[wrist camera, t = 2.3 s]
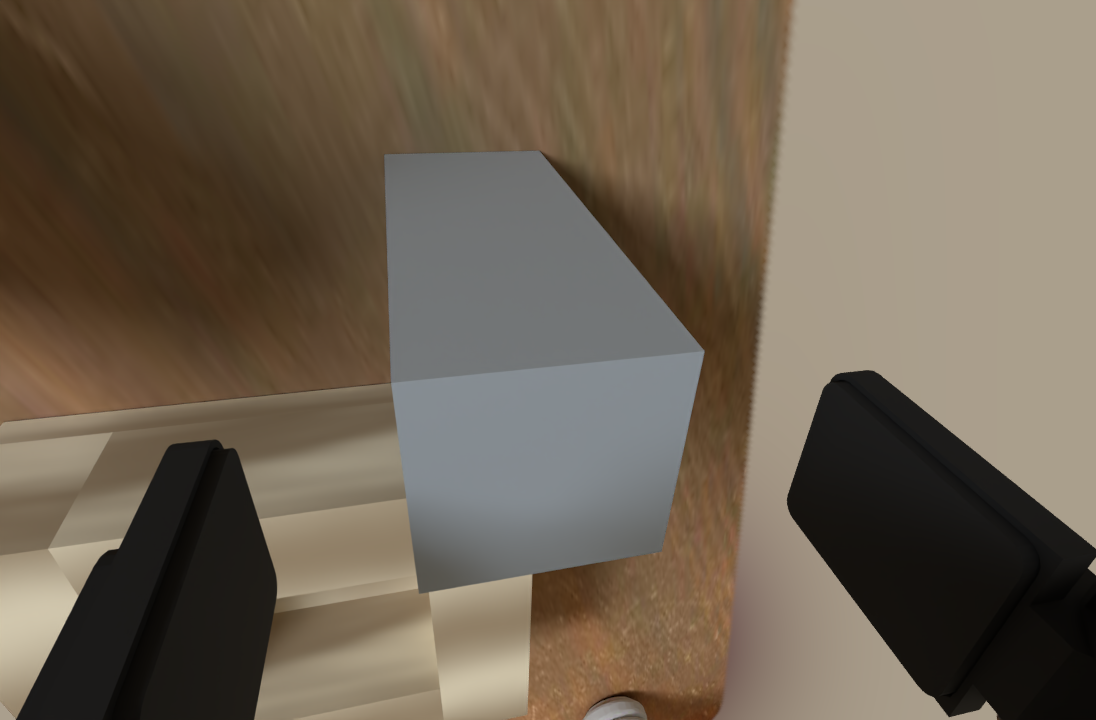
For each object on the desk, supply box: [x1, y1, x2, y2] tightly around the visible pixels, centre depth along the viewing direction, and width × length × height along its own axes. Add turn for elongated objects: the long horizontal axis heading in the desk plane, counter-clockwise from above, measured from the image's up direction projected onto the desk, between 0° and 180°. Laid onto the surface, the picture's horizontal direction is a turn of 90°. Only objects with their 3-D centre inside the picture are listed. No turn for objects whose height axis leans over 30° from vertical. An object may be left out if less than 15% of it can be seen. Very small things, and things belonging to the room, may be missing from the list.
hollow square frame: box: [0, 383, 532, 720], centre depth 19 cm, size 12×14×5 cm
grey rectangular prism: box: [384, 151, 705, 594], centre depth 13 cm, size 4×4×10 cm
